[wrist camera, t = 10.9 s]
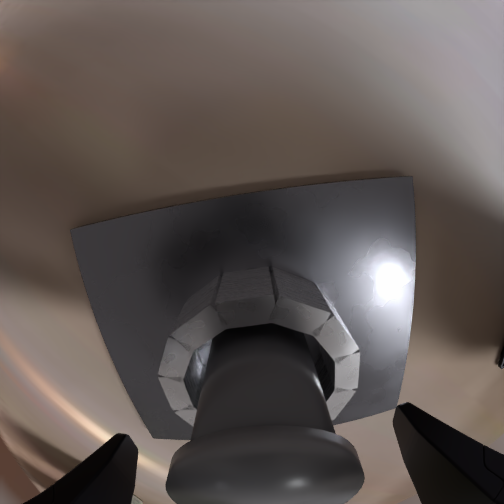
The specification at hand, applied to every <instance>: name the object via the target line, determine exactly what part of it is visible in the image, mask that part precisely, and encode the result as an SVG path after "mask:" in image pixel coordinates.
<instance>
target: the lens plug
mask: <svg viewBox="0 0 504 504" xmlns="http://www.w3.org/2000/svg"><path fill="white" fill-rule="evenodd" d="M364 478H365V477H364V472H363V469H362V466H361V463H360V460H359V457H358V454H357V451H356V449H355V448H354V446H353V445H352V444H351V443H350V442H349V441H348V440H346V439H345V438H343V437H341V436H339V435H337V434H335V430H334V427H333V424H332V420H331V417H330V414H329V411H328V407H327V404H326V401H325V398H324V394H323V391H322V388H321V385H320V382H319V378H318V375H317V372H316V369H315V366H314V363H313V360H312V356H311V353H310V350H309V347H308V344H307V341H306V338H305V335H304V333H303V332H299V331H296V330H293V329H290V328H287V327H284V326H280V325H277V324H274V323H268V324H260V325H253V326H245V327H237V328H229V329H225V330H224V331H222V332H221V333H219V334H218V335H216V336H215V337H213V338H212V343H211V347H210V352H209V356H208V361H207V365H206V370H205V374H204V379H203V384H202V388H201V393H200V398H199V402H198V407H197V412H196V416H195V421H194V426H193V431H192V436H191V441H190V442H187V443H186V444H185V445H183V446H182V447H180V448H179V449H178V450H177V451H176V452H175V454H174V455H173V457H172V460H171V464H170V468H169V473H168V477H167V481H166V491H167V493H168V495H169V496H170V498H171V499H172V500H173V501H174V502H175V503H177V504H344V503H346V502H347V501H348V500H350V499H351V498H352V497H353V496H354V495H356V494H357V493H358V491H359V490H360V489H361V487H362V485H363V483H364Z"/></svg>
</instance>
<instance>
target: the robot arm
mask: <svg viewBox="0 0 504 504" xmlns="http://www.w3.org/2000/svg"><path fill="white" fill-rule="evenodd" d="M498 367H500V368H501V369H503V368H504V349H503V352H502V355H501V358H500V361H499V364H498ZM393 427H394V431H395V434H396V437H397V440H398V444H399V447H400V451H401V454H402V457H403V460H404V463H405V465H406V468H407V470H408V472H409V475H410V477H411V479H412V482H413V484H414V486H415V489H416V491H417V494H418V496H419V498H420V501H421V503H422V504H504V455H503V454H501V453H499V452H497V451H495V450H493V449H491V448H489V447H487V446H485V445H484V446H483V444H481V443H479V442H477V441H476V440H474V439H472V438H470V437H468V436H466V435H465V434H463V433H461V432H459V431H458V430H456V429H454V428H452V427H450V426H449V425H447V424H445V423H443V422H442V421H440V420H438V419H437V418H435V417H433V416H431V415H430V414H428V413H426V412H425V411H423V410H421V409H420V408H418V407H416V406H415V405H413V404H411V403H409V402H406V403H403V404H400V405H398V406H397V407H396V410H395V414H394V418H393ZM137 460H138V449H137V447H136V445H135V444H134V442H133V441H132V439H131V438H130V436H129V435H127V434H121V433H118V434H116V435H114V436H113V437H112V438H111V439H109V440H108V441H107V442H106V443H105V444H103V445H102V446H101V447H100V448H99V449H97V450H96V451H95V452H94V453H92V454H91V455H90V456H89V457H87V458H86V459H85V460H84V461H82V462H81V463H80V464H79V465H77V466H76V467H75V468H74V469H72V470H71V471H70V472H69V473H67V474H66V475H65V476H63V477H62V478H61V479H59V480H58V481H57V482H55V483H54V484H53V485H51V486H50V487H49V488H47V489H46V490H44V491H43V492H42V493H40V494H39V495H37V496H35V497H34V498H32V499H30V500H28V501H27V502H25V503H23V504H131V502H132V498H133V493H134V488H135V480H136V469H137Z"/></svg>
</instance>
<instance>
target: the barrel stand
mask: <svg viewBox="0 0 504 504" xmlns="http://www.w3.org/2000/svg"><path fill="white" fill-rule="evenodd" d="M70 232H71V236H72V241H73V245H74V249H75V253H76V257H77V261H78V264H79V268H80V272H81V275H82V278H83V282H84V285H85V288H86V292H87V295H88V298H89V301H90V304H91V307H92V310H93V312H94V315H95V318H96V321H97V323H98V326H99V329H100V331H101V334H102V336H103V339H104V341H105V344H106V346H107V349H108V351H109V353H110V356H111V358H112V360H113V363H114V365H115V367H116V369H117V371H118V374H119V376H120V378H121V380H122V382H123V384H124V386H125V388H126V390H127V392H128V394H129V396H130V398H131V400H132V402H133V404H134V406H135V407H136V409H137V411H138V413H139V415H140V417H141V418H142V420H143V422H144V424H145V425H146V427H147V429H148V430H149V432H150V434H151V435H152V437H153V438H156V439H175V440H191V436H192V431H193V426H194V421H195V416H196V412H197V407H198V402H199V398H200V393H201V388H202V384H203V379H204V374H205V370H206V365H207V361H208V356H209V352H210V347H211V343H212V338H213V337H215V336H216V335H218V334H219V333H221V332H222V331H224V330H225V329H229V328H237V327H245V326H253V325H260V324H268V323H274V324H277V325H280V326H284V327H287V328H290V329H293V330H296V331H299V332H303V333H304V335H305V338H306V341H307V344H308V347H309V350H310V353H311V356H312V360H313V363H314V366H315V369H316V372H317V375H318V378H319V382H320V385H321V388H322V391H323V394H324V398H325V401H326V404H327V407H328V411H329V414H330V417H331V420H332V424H333V425H336V424H341V423H345V422H349V421H353V420H357V419H361V418H365V417H368V416H372V415H375V414H378V413H382V412H385V411H388V410H391V409H394V408H396V407H397V403H398V399H399V394H400V390H401V385H402V380H403V375H404V370H405V364H406V358H407V352H408V346H409V339H410V331H411V322H412V313H413V302H414V288H415V266H416V223H415V201H414V187H413V176H400V177H385V178H372V179H361V180H350V181H339V182H330V183H320V184H312V185H303V186H295V187H287V188H280V189H272V190H265V191H258V192H251V193H245V194H238V195H232V196H226V197H220V198H214V199H208V200H203V201H197V202H191V203H186V204H181V205H175V206H170V207H165V208H160V209H155V210H150V211H146V212H141V213H136V214H132V215H127V216H123V217H118V218H114V219H110V220H105V221H101V222H97V223H93V224H89V225H85V226H81V227H77V228H74V229H71V230H70Z"/></svg>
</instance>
